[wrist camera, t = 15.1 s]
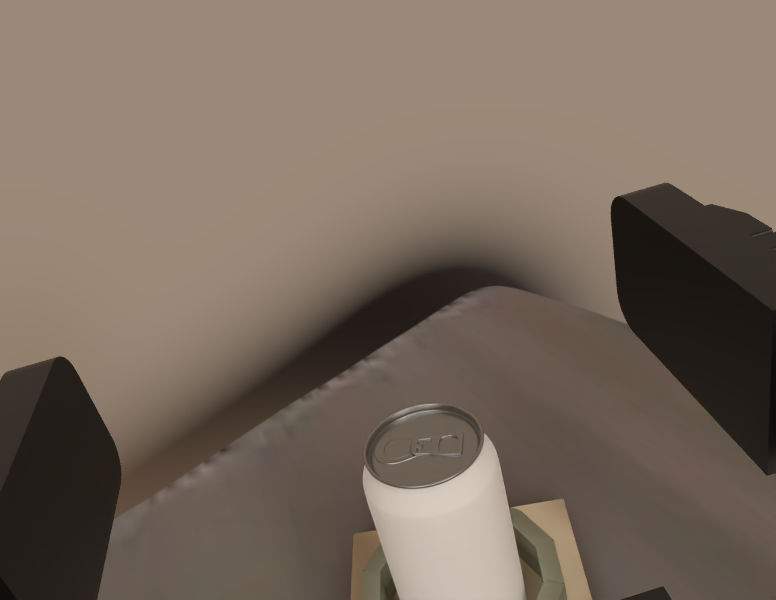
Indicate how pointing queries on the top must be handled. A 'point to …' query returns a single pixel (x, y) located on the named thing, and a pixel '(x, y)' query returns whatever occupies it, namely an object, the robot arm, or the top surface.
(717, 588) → the top surface
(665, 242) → the robot arm
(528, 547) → the can holder
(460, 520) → the can
